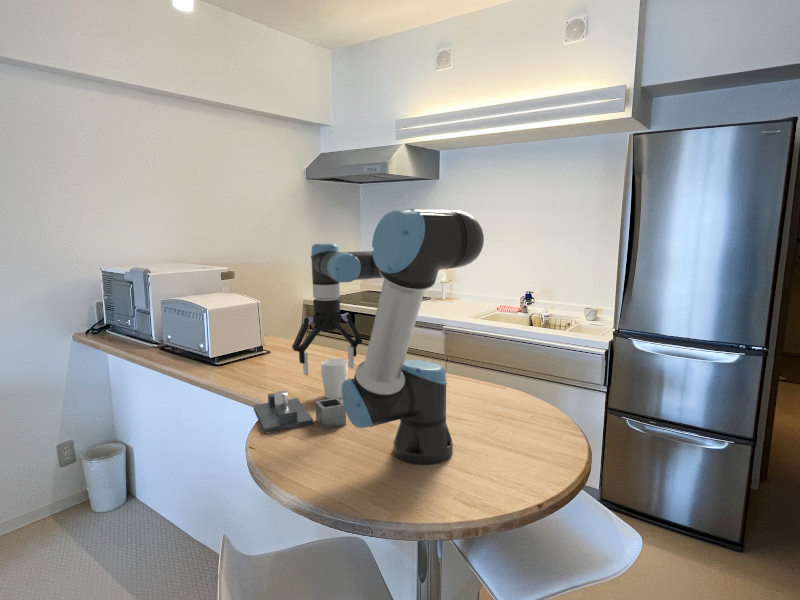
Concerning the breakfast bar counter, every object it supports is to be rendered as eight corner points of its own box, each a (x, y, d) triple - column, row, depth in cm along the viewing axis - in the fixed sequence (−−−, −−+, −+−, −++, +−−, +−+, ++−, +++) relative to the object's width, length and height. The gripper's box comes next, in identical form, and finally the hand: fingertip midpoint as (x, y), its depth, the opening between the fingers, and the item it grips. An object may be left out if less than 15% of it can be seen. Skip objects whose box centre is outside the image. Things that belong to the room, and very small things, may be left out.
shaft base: (313, 424, 141) (312, 399, 140) (264, 433, 136) (263, 408, 134) (297, 402, 159) (296, 380, 158) (253, 409, 154) (252, 386, 152)
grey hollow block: (346, 424, 141) (345, 405, 140) (322, 429, 138) (321, 409, 137) (338, 416, 147) (338, 397, 146) (316, 420, 144) (315, 401, 143)
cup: (343, 401, 160) (342, 366, 158) (318, 400, 161) (316, 365, 160) (352, 392, 168) (351, 359, 166) (327, 390, 170) (326, 357, 168)
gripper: (363, 293, 146) (364, 361, 149) (279, 299, 135) (283, 372, 139) (372, 296, 139) (373, 368, 142) (285, 303, 128) (288, 380, 132)
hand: (328, 370), depth 140 cm, fingers open, 13 cm apart
